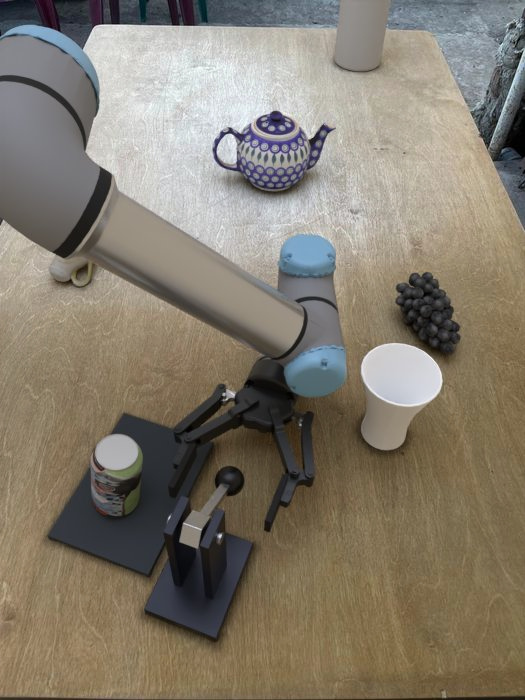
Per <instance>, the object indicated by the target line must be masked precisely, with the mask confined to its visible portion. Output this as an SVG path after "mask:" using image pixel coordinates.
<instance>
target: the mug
mask: <svg viewBox="0 0 525 700" xmlns="http://www.w3.org/2000/svg"><path fill="white" fill-rule="evenodd" d="M84 266H85V267H86V266H87V274H86V275H87V276H86V277H85V279H84V280H82V281H80V280H78V279H77V272H78V271H79V270H80V269H82V268H83V267H84ZM93 266H94V263H92V262H91V261H89V260H87V259H85V258H83V257H76V258H72V259H69V260H65V259H63V258H61V257H60V256H58V255H56V254H54V258H53V260H52V262H51V263H50V264H49V266H48V272H49V275H50V276H51V277H52V278H53V279H54V280H56V281H58V282H62V283H64V282H69V281H70V280H71V281H72V283H73V285H74V286H76V287H84V286H86V285H87V284H89V282H90V281H91V278H92V274H93V273H92V272H93Z"/></svg>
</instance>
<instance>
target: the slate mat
mask: <svg viewBox="0 0 525 700" xmlns="http://www.w3.org/2000/svg"><path fill="white" fill-rule="evenodd" d="M113 434H122V435H126V436H128V437H130V438H132V439H133V440H134V441H135V442H136V443H137V445H138V446H139V447H140V449H141V451H142V455H143V462H142V474H141V485H140V497H139V502H138V504H137V506H136V507H135V509H134V510H133V511H132V512H130V513H129V514H127V515H125V516H122V517H117V518H111V517H107V516H104V515H102V514H100V513H99V512H98V511H97V510H96V509H95V508H94V506H93V503H92V496H91V465H90V466H89V468H88V469H87V471H86V473H85V474H84V476H83V478H82V479H81V481H80V482H79V484H78V486H77V487H76V489H75V490H74V492H73V493H72V495H71V496H70V498H69V500H68V501H67V503H66V505H65V506H64V508H63V510H62V511H61V513H60V514H59V516H58V517H57V519H56V521H55V522H54V524H53V526H52V527H51V529H50V530H49V532H48V534H47V535H46V537H47V538H48V539H49V540H52V541H54V542H58V543H60V544H63V545H64V546H66V547H67V546H68V547H70V548H73V549H75V550H78V551H81V552H83V553H85V554H88V555H90V556H94V557H96V558H98V559H100V560H104V561H106V562H109V563H111V564H114V565H117V566H118V567H122V568H124V569H126V570H129V571H132V572H135V573H137V574H140V575H142V576H145V577H147V578H149V577H150V576H151V574H152V572H153V570H154V568H155V566H156V564H157V562H158V560H159V558H160V555H161V554H162V552H163V549H164V547H165V546H166V544H165V539H164V535H163V531H164V529H165V527H166V525H167V520H168V517H169V515H170V514H171V513H173V511H174V509H175V507H176V505H177V503H178V501H179V499H180V497H181V495H182V496H185V497H187V498H189V496H190V494H191V492H192V490H193V488H194V485H195V484H196V482H197V480H198V478H199V475H200V474H201V472H202V470H203V468H204V465H205V463H206V461H207V460H208V458H209V455H210V453H211V452H212V449H213V447H214V442H213V441H209V442H207V443H206V444H204V445H202V446H200V447H198V448H197V449H196V450H197V457H196V459H195V461H194V463H193V465H192V467H191V469H190V471H189V473H188V475H187V477H186V479H185V481H184V483H183V485H182V486H181V488H180V490H179V492H178V494H177V496H176V498H175V499H174V498H171V497H170V496H169V490H168V485H169V483H170V481H171V479H172V477H173V475H174V473H175V471H176V469H174V465H173V459H174V457H175V456H176V453H177V451H178V450H179V448H180V446H181V444H180V443H177V442H175V439H174V431H173V428H171V427H168V426H165V425H162V424H159V423H156V422H153V421H150V420H147V419H145V418H141V417H138V416H136V415H132V414H129V413H126V412H123V414H122V415H121V417H120V419H119V420H118V422H117V423H116V425H115V426H114V428H113V430H112V431H111V433H110V434H109V435H113Z"/></svg>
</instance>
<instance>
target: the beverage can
mask: <svg viewBox="0 0 525 700" xmlns="http://www.w3.org/2000/svg"><path fill="white" fill-rule="evenodd" d="M142 462H143V455H142V451H141V449H140V447H139V446H138V445H137V443H136V442H135V441H134V440H133V439H132V438H130V437H128V436H126V435H122V434H113V435H110V434H108V435H107V436H105V437H103V438H102V439H101V440H100V441H99V442H98V443H97V444H96V445H95V446H94V448H93V449H92V451H91V454H90V466H91V496H92V503H93V506H94V508H95V509H96V510H97V511H98V512H99V513H100V514H102V515H104V516H107V517H111V518H117V517H122V516H125V515H127V514H129V513H130V512H132V511H133V510H134V509H135V507H136V506H137V504H138V502H139V497H140V485H141V474H142Z"/></svg>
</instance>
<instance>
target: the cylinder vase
mask: <svg viewBox="0 0 525 700" xmlns="http://www.w3.org/2000/svg"><path fill="white" fill-rule="evenodd" d="M391 3H392V0H340V2H339V10H338V20H337V27H336V34H335V35H336V37H335V45H334V53H333V60H334V62H335V63H336V65H338V66H339V67H340V68H342V69H344V70H348V71H351V72H369V71H372V70H374V69H376V68H377V67H379V65H380V64H381V60H382V55H383V51H384V50H383V49H384V45H385V44H384V43H385V37H386V32H387V26H388V20H389V15H390V9H391Z"/></svg>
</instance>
